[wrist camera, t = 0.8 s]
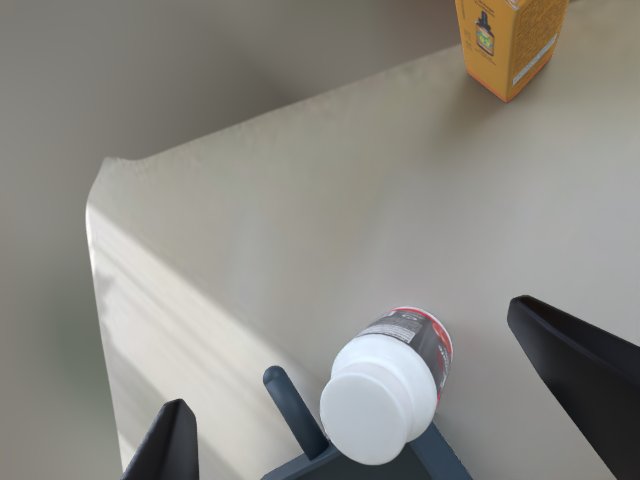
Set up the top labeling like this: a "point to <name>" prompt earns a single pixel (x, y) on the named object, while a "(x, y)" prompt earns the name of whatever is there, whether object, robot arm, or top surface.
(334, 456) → the dustpan
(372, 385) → the pill bottle
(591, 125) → the top surface
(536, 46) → the supplement box
